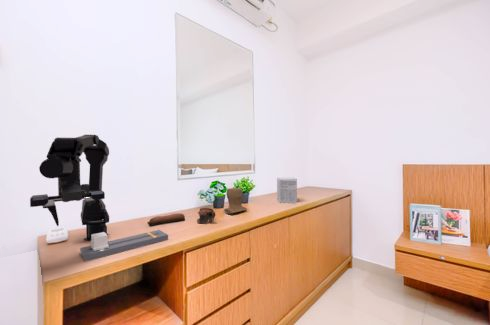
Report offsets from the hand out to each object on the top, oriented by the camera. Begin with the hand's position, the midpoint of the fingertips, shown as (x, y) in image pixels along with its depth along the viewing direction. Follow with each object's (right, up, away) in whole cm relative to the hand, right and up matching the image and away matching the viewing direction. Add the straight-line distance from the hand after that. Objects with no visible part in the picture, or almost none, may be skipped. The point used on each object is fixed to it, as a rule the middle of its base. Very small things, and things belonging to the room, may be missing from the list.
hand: (70, 223), depth 74 cm
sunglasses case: (+15, -12, +45) cm, 49 cm away
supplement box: (+89, -10, +97) cm, 132 cm away
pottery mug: (+37, -11, +44) cm, 59 cm away
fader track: (+12, -12, +12) cm, 21 cm away
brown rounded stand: (+51, -11, +64) cm, 83 cm away
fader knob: (+6, -10, +6) cm, 13 cm away
